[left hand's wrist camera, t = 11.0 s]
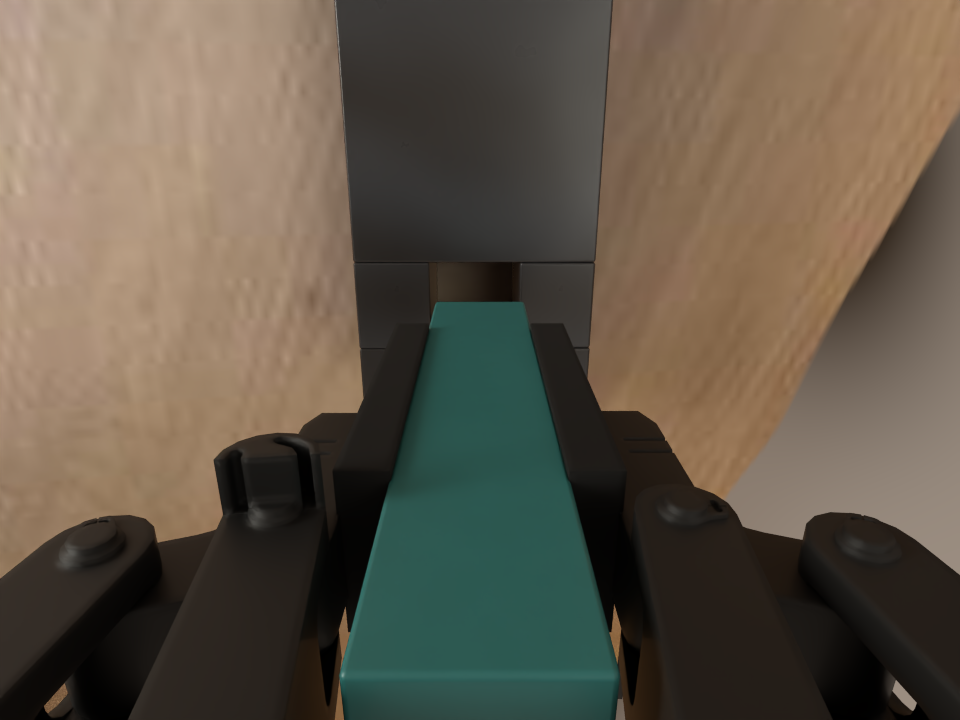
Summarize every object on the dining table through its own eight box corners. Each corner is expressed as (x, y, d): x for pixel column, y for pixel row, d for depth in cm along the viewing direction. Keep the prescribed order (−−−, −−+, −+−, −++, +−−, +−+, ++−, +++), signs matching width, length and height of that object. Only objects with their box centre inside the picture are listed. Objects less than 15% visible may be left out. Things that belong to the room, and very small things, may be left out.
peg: (522, 383, 17) (602, 860, 6) (437, 383, 17) (357, 861, 6) (524, 301, 16) (623, 676, 5) (435, 301, 16) (336, 676, 5)
